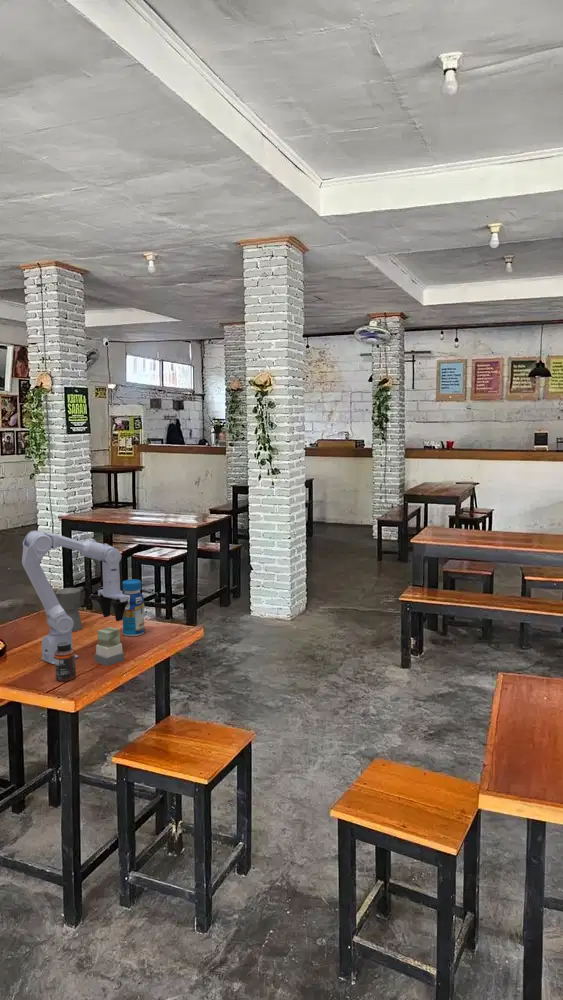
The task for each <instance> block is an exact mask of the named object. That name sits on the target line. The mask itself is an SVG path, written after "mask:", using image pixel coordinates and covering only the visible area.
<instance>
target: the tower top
mask: <svg viewBox="0 0 563 1000" xmlns="http://www.w3.org/2000/svg"><path fill="white" fill-rule="evenodd" d="M95 650H96V651H95V652H96V654H98V655H101V656H104V657H111V656H114V655H117V654H120V653H122V652H123V643H121V642H120V644H118V645H116V646H113V647H110V648H106V647H103V646H99V645H98V644H96V645H95Z"/></svg>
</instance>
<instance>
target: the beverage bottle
mask: <svg viewBox="0 0 563 1000" xmlns="http://www.w3.org/2000/svg"><path fill="white" fill-rule="evenodd" d="M141 590H142V581H141V580H139V579H126V580H123V581H122V591H123V593H122V594H124V595H125V596H126V600H128V604H127V605H126V608H125V610H124V614H123V619H122V620H121V621H122V635H124V636H125V637H138V636H141V635H143V634H144V633H146V632H145V631H146V628H145V603H144V600H145V599H144V595H143V594H142V592H141Z"/></svg>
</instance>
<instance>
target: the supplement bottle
mask: <svg viewBox="0 0 563 1000" xmlns="http://www.w3.org/2000/svg"><path fill="white" fill-rule="evenodd" d="M57 648H58V649H57V650H56V651H55V664H54V666H55V668H54V669H55V679H56V680H57V681H58V682H68V681H72V680H74V679H75V678H76V677H77V674H76V671H77V670H76V660H75V659H76V658H75V655H76V653H75V650H74V649H72V648H71V643H70V642H60V643H58V644H57Z"/></svg>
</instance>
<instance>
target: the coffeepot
mask: <svg viewBox="0 0 563 1000" xmlns="http://www.w3.org/2000/svg"><path fill="white" fill-rule="evenodd" d="M65 585H66V587H65V588H60V589H58V590H55V591H56V592H55V591H54V593H55V595H56V597H57V599H58V601H59V603H60V605H61V607H62V608H63V609H64V611H65V612H66V614H67V615H68V616H69V617H71V618H72V620H73V623H74V625H73V628H72V633H74V631H75V632H78V630H79V631H81V630H82V629H83V625H82V621H81V615H80V611H79V608H80V607H81V608H86V607H87V604H88V601H89V597H90V594H91V589H90V588H89V587H88V586H87V585H84V586H79V587H71V583H70V582H67V583H65ZM83 592H85V594H84V599H83V604H82V605H80V603H81V593H83ZM80 629H81V630H80Z"/></svg>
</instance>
